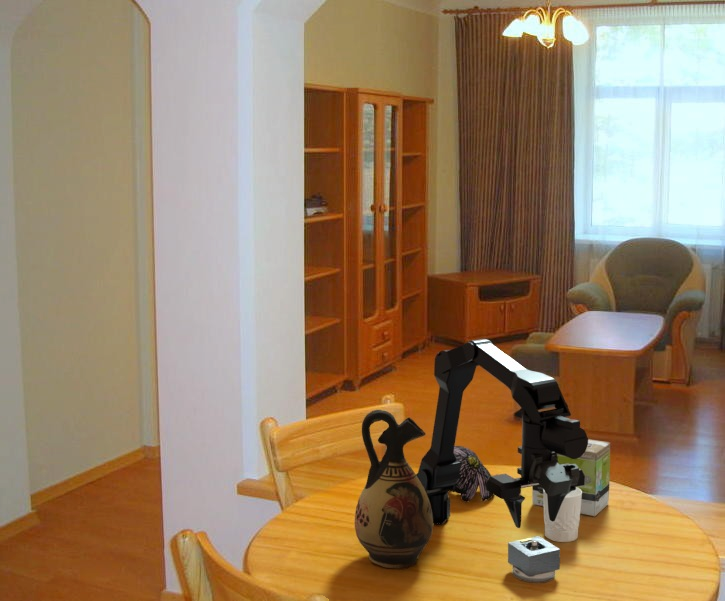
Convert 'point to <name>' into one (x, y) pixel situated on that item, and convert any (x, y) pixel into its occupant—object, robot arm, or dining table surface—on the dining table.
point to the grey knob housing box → (533, 556)
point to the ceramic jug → (392, 498)
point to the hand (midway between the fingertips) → (535, 524)
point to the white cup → (564, 518)
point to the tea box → (588, 477)
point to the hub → (536, 578)
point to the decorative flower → (471, 475)
